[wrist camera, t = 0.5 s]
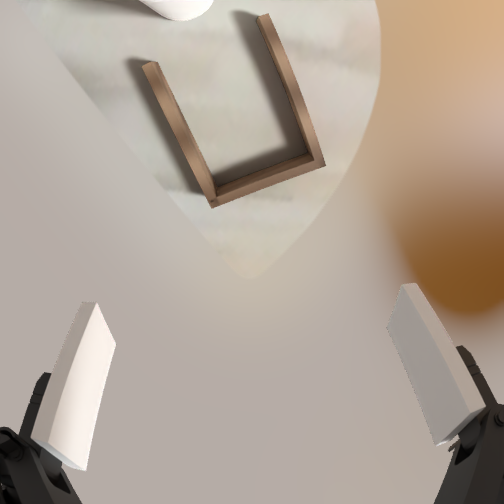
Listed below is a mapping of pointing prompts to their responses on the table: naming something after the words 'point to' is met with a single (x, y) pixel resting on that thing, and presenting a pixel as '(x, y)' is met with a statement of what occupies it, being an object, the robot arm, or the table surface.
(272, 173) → the open wooden frame
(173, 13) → the can
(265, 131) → the table surface
